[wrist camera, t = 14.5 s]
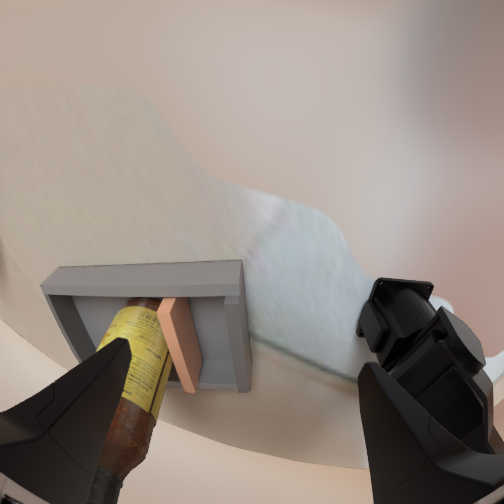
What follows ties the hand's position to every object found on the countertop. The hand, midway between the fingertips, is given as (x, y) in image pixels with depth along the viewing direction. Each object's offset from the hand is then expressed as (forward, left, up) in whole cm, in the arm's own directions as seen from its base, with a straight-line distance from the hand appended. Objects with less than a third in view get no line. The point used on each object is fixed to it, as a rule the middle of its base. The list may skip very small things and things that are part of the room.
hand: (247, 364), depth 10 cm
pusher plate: (+5, +9, -12) cm, 16 cm away
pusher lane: (+10, +10, -13) cm, 19 cm away
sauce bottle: (+9, +10, -13) cm, 18 cm away
